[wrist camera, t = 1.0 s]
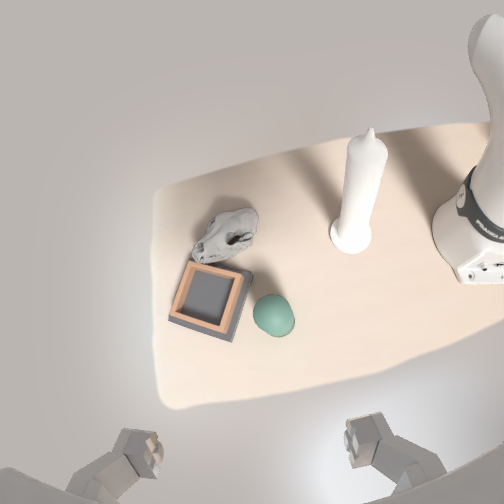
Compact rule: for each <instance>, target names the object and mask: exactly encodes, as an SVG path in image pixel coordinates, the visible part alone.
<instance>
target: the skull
mask: <svg viewBox="0 0 504 504" xmlns="http://www.w3.org/2000/svg"><path fill="white" fill-rule="evenodd" d="M258 218H259V217H258V214H257V212H256V210H254V209H253V208H241V209H238V210H235V211H226V212H221V213H219V214H217V215H216V216H215V217H214V218H213V219H212V220H211V221H210V222H209V224H208V226H207V231H206V233H205V235H204V236H203V237H202V238H201V239H200V240H199V241H198V242H197V243H196V244H195V245H194V247H193V249H192V251H191V254H192V257H193V258H194V260H195V261H196V262H197V263H204V264H205V263H213V262H218V261H223V260H226V259H229V258H231V257H233V256H234V255H236V254H237V253H238V252H240V251H243V250H245V249H246V248H247V247H248V245H249V246H251V245H252V243H253V236H254V234H255V233H256V228H257V222H258ZM237 235H239V236H241V238H240V239H239V240H238V241H237V242H235V243H234V244H232V245H229V244H228V242H229V241H230V240H231V239H233V238H235V237H236V236H237ZM213 255H215V256H213ZM211 256H212V257H211Z"/></svg>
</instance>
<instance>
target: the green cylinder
mask: <svg viewBox="0 0 504 504" xmlns="http://www.w3.org/2000/svg"><path fill="white" fill-rule="evenodd" d="M253 318H254V321H255V323H256V324H257V326H258V327H259V328H261V329H262V330H264V331H265V332H267V333H268V334H270V335H271V336H274V337H283V336H286V335H288V334H289V333H290V332H291V331H292V329H293V328H294V324H295V318H294V315H293V312H292V310H291V307H290V305H289V303H288V302H287V301H286V300H285V299H284V298H283V297H281V296H279V295H273V294H272V295H267V296H264V297H262V298H261V299H260V300H259V301H258V302H257V303H256V305H255V307H254V310H253Z"/></svg>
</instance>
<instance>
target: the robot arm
mask: <svg viewBox="0 0 504 504" xmlns="http://www.w3.org/2000/svg"><path fill="white" fill-rule="evenodd" d="M468 54H469V60H470V63H471V66H472V69H473V71H474V74H475V75H476V77H477V78H478V80H479V82H480V84H481V86H482V88H483V91H484V93H485V96H486V99H487V102H488V106H489V111H490V118H491V132H490V138H489V141H488V144H487V146H486V149H485V151H484V153H483V155H482V157H481V159H480V161H479V163H478V165H476V166H475V167H474V168H472V170H471V171H470V173H469V174H468V176H467V177H466V178H465V180H464V182H463V183H462V185H461V187H460V189H459V191H458V193H457V194H456V195H455V196H454V197H453V198H451V199H450V200H449V201H447V202H446V203H444V204H443V205H441V206H440V207H439V208H438V209H437V211H436V213H435V215H434V218H433V223H432V231H433V237H434V241H435V244H436V246H437V248H438V250H439V252H440V254H441V255H442V256H443V258H444V259H445V260H446V261H447V262H448V263H449V264H450V265H451V267H452V268H453V269H454V272H455V274H456V277H457V279H458V280H459V282H460V283H461V284H463V285H480V284H504V16H502V15H500V14H497V13H493V14H489V15H486V16H484V17H483V18H481V19H480V20H479V21H477V23H476V24H475V25H474V26H473V28H472V30H471V33H470V36H469V42H468ZM469 276H470V278H469ZM346 427H347V430H346V431H345V433H344V443H345V447H346V450H347V451H348V452H350V455H349V459H350V462H351V465H352V468H353V469H354V468H358V467H363V466H367V465H371V464H372V466H373V467H374V468H376V469H377V470H378V471H380V472H381V473H383V474H384V475H385V476H387V477H388V478H389V479H391V480H392V481H393V482H395V483H396V484H397V486H396V488H395V490H394V491H393V493H392V494H391V496H389V497H385V498H382V499H379V500H375V501H372V502H368V503H364V504H504V442H502V443H500V444H499V445H497V446H496V447H494V448H492V449H491V450H489V451H487V452H486V453H484V454H482V455H481V456H479V457H477V458H475V459H474V460H472V461H470V462H468V463H466V464H464V465H462V466H461V467H459V468H457V469H455V470H453V471H450V472H449V473H447V471H446V470H445V468H444V466H443V464H442V463H441V461H440V459H439V458H438V456H437V454H435V453H433V452H430V451H428V450H426V449H424V448H422V447H420V446H418V445H416V444H414V443H412V442H410V441H408V440H406V439H404V438H402V437H400V436H397V435H396V436H394V435H393V433H392V431H391V429H390V427H389V425H388V424H387V422H386V419H385V418H384V416H383V414H382V413H381V412H377V413H373V414H369V415H364V416H360V417H356V418H352V419H347V421H346ZM157 438H158V436H157V434H156V432H152V431H144V430H136V429H127V428H123V429H122V430H121V432H120V434H119V437H118V439H117V441H116V443H115V446H114V448H113V450H112V452H108V453H106V454H105V455H103V456H101V457H100V458H98V459H97V460H95V461H94V462H92V463H90V464H89V465H87V466H85V467H84V468H82V469H80V470H79V471H77V472H75V473H74V474H73V476H72V478H71V480H70V482H69V484H68V486H67V489H66V491H63V490H61V489H58V488H55V487H53V486H50V485H48V484H46V483H43V482H41V481H38V480H36V479H34V478H32V477H30V476H27V475H25V474H24V473H21V472H20V471H18V470H16V469H13V468H10V467H7V468H3V469H0V504H120V503H119V502H118V501H117V500H116V499H117V498H119V497H120V496H121V495H122V494H123V493H124V492H125V491H127V490H128V489H129V488H130V487H131V486H132V485H133V484H134V483H135V482H136V481H138V479H140V477H141V478H150V479H157V478H158V475H159V471H160V467H159V465H158V464H159V463H160V462H162V460H163V447H162V444H161V443H160V442H159V441H158V440H157Z"/></svg>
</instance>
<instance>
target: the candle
mask: <svg viewBox="0 0 504 504" xmlns="http://www.w3.org/2000/svg"><path fill="white" fill-rule="evenodd" d="M387 157H388V151H387V148H386V146H385V145H384V143H383V142H382V141H381V140H379V139H378V138H376V137H375V133H374V128H373V127H370V128H369V129H368V131H367V133H366V135H359V136H356V137H354V138H353V139H352V140H351V141H350V142H349V144H348V148H347V159H346V170H345V179H344V188H343V197H342V205H341V212H340V217H338V218H337V219H336V220H335V221H334V222H333V224H332V226H331V230H330V236H331V240H332V242H333V244H334V245H335V246H336V247H337V248H338V249H339V250H341V251H343V252H345V253H358V252H360V251H362V250H364V249H365V248H366V247H367V246H368V244H369V242H370V240H371V229H370V227H369V225H368V222H369V219H370V216H371V213H372V209H373V206H374V203H375V200H376V196H377V193H378V190H379V186H380V183H381V179H382V176H383V172H384V169H385V165H386V161H387Z"/></svg>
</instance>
